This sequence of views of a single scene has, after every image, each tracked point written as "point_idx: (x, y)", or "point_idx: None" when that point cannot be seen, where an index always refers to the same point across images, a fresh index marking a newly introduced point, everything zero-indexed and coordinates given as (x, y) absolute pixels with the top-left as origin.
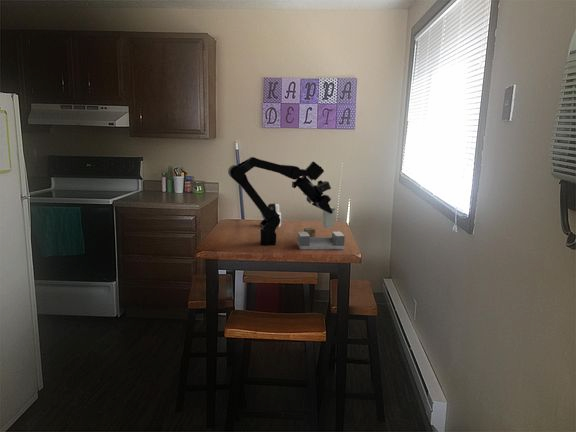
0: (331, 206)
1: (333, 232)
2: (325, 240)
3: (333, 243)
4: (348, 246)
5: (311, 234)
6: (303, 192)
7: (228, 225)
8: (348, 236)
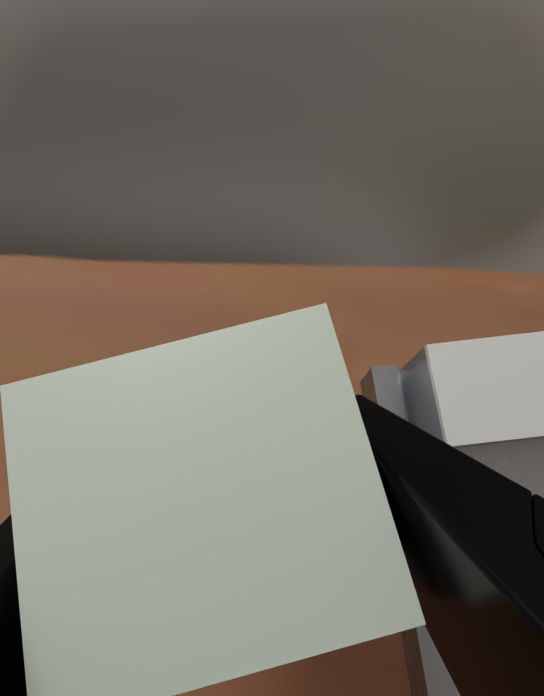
0: (71, 387)
1: (497, 435)
2: None
3: (517, 446)
4: (454, 309)
5: None
6: None
7: None
8: (65, 261)
